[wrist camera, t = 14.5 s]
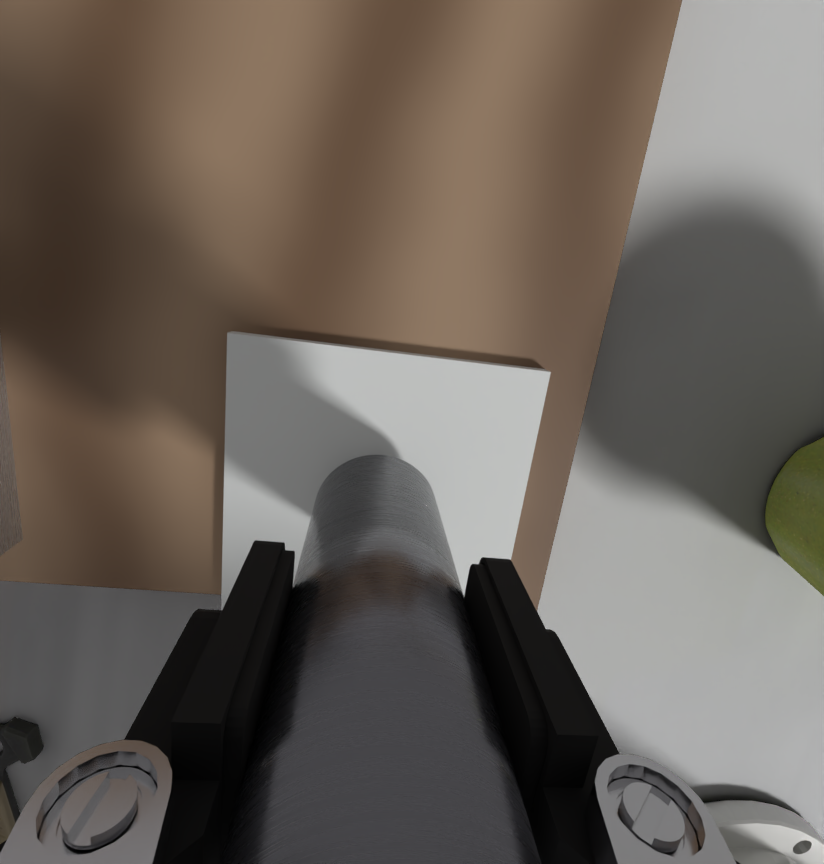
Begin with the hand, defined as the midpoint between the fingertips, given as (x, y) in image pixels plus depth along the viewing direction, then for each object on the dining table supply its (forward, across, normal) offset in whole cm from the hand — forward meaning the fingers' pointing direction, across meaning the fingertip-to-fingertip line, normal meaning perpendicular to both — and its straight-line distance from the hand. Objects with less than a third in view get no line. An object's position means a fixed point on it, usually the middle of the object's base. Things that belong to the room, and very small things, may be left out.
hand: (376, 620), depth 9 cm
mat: (+6, 0, 0) cm, 6 cm away
